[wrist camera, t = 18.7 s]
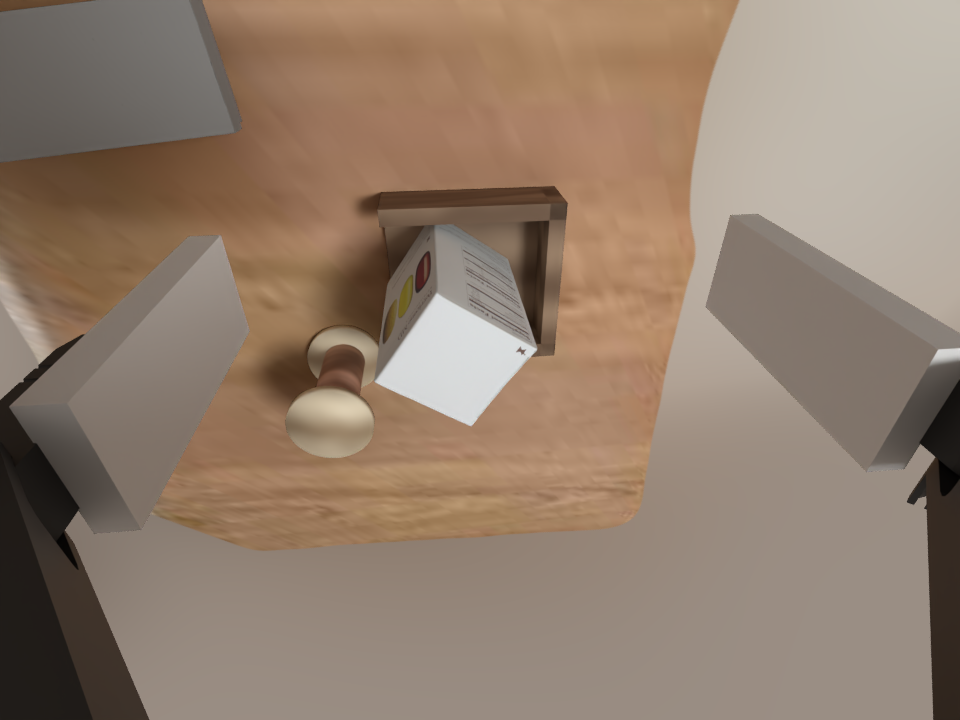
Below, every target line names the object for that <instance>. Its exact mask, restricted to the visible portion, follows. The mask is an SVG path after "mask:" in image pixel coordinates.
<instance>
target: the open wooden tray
mask: <svg viewBox="0 0 960 720" xmlns="http://www.w3.org/2000/svg"><path fill="white" fill-rule="evenodd" d="M567 204H568V203H567V202H566V200H565V199H564V198H563V197H562V195H561V194H560V193H559V191H558V190H557V189H556V188H555V186H551V187H522V188H493V189H463V190H434V191H405V192H381V196H380V201H379V205H378V209H377V211H378V220H379V227H385V236H386V244H387V253H388V262H389V271H390V279H391V277H392V276H393V274H394V273H395V271H396V270H397V268H398V267H399V265H400V263H401V262H402V260H403V259H404V257H405V256H406V254H407V253H408V251H409V249H410V248H411V246H412V245H413V243H414V242H415V240H416V239H417V237H418V236H419V234H420V233H421V231H422V230H423V228H424V226H425V225H448V224H453V225H455V226H456V227H458V228H460V229H461V230H463V231H464V232H466V233H467V234H469V235H471V236H472V237H474V238H475V239H477V240H479V241H480V242H482V243H483V244H485V245H487V246H488V247H490V248H491V249H493V250H494V251H496V252H498V253H499V254H501V255H502V256H504V257H505V258H507V259H508V261H509V264H510V267H511V270H512V273H513V276H514V280H515V283H516V286H517V289H518V292H519V294H520V298H521V301H522V304H523V307H524V310H525V313H526V316H527V319H528V322H529V325H530V328H531V331H532V334H533V337H534V340H535V343H536V346H537V351H536V352H535V353H534V354H533V355H532V356H531V357H535V356H552V355H554V351H555V340H556V329H557V317H558V306H559V295H560V283H561V272H562V261H563V249H564V238H565V227H566V215H567Z"/></svg>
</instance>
